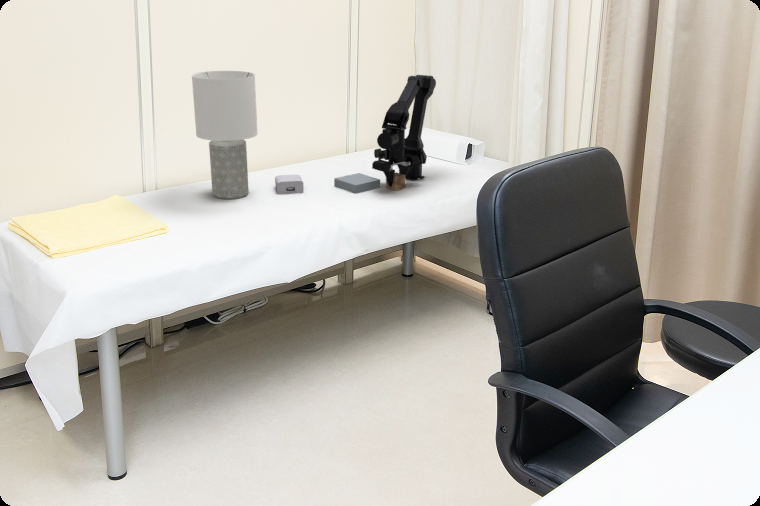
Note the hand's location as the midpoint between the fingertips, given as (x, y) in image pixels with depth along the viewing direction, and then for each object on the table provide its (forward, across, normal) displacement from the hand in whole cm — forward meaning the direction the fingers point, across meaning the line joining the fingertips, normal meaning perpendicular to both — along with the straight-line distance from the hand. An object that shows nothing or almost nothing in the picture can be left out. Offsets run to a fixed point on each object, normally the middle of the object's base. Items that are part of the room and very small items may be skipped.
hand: (395, 185), depth 273 cm
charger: (+2, +30, -25) cm, 39 cm away
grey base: (+1, +10, -10) cm, 14 cm away
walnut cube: (+1, 0, 0) cm, 1 cm away
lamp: (+1, +51, -31) cm, 60 cm away
